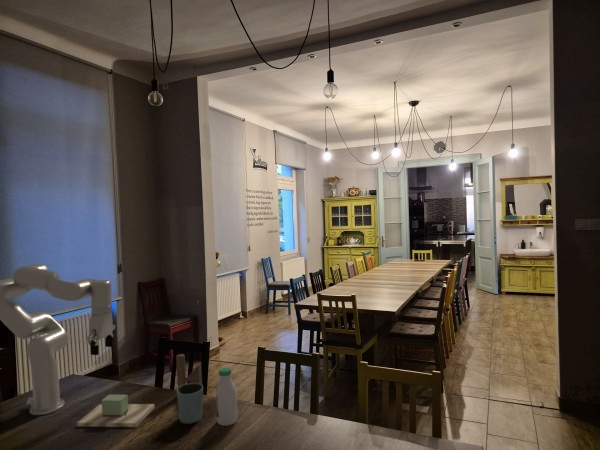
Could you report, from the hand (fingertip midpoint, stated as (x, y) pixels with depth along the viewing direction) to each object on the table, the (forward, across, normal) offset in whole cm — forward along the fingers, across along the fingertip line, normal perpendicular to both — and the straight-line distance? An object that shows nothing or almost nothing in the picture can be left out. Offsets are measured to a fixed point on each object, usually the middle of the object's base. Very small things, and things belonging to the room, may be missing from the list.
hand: (102, 350), depth 169 cm
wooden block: (+23, -12, +33) cm, 42 cm away
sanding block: (+22, +7, +10) cm, 26 cm away
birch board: (+24, +7, +11) cm, 27 cm away
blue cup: (+22, +6, +42) cm, 48 cm away
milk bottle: (+22, +8, +57) cm, 61 cm away
